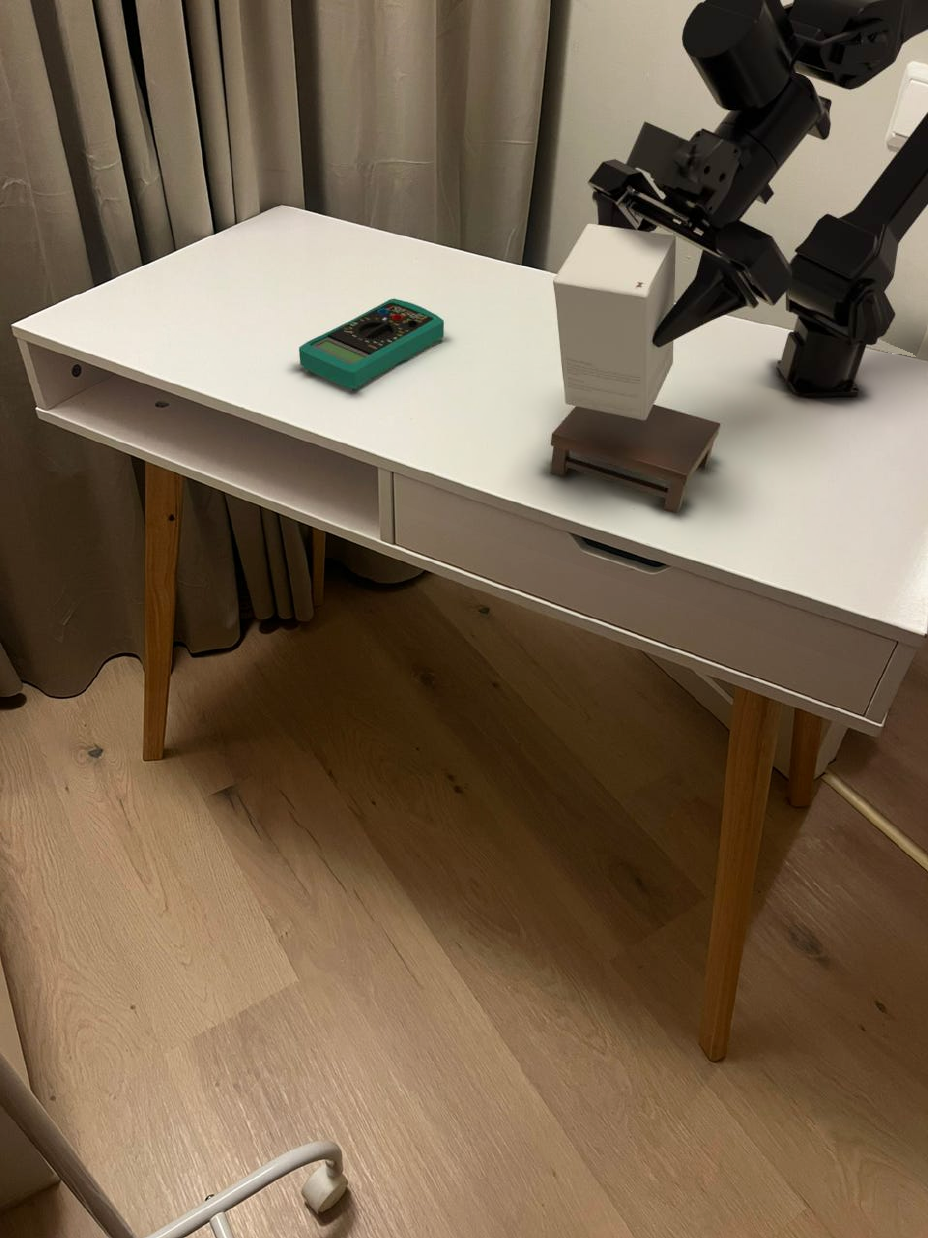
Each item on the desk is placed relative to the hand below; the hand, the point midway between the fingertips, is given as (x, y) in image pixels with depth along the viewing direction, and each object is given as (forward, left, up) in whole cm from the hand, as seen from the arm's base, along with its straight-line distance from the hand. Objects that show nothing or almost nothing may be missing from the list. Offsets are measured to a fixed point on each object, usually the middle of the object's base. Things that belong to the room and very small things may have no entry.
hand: (615, 319), depth 79 cm
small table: (-3, +1, -13) cm, 14 cm away
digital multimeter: (+19, -20, -14) cm, 31 cm away
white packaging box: (-1, -1, -7) cm, 7 cm away
